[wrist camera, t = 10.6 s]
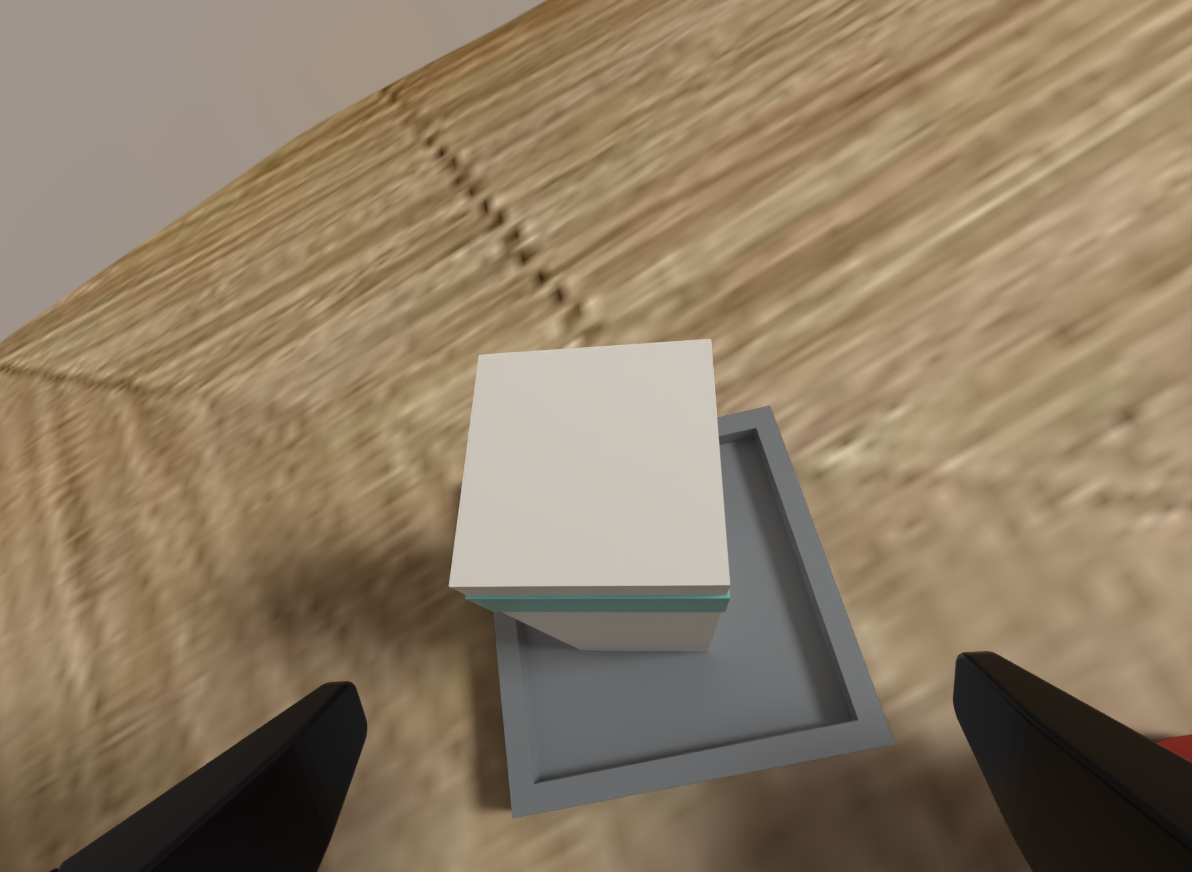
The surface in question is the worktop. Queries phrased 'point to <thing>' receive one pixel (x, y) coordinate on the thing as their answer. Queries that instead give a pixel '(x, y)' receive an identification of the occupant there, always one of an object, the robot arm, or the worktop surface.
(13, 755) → the worktop surface
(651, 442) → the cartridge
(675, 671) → the tray
